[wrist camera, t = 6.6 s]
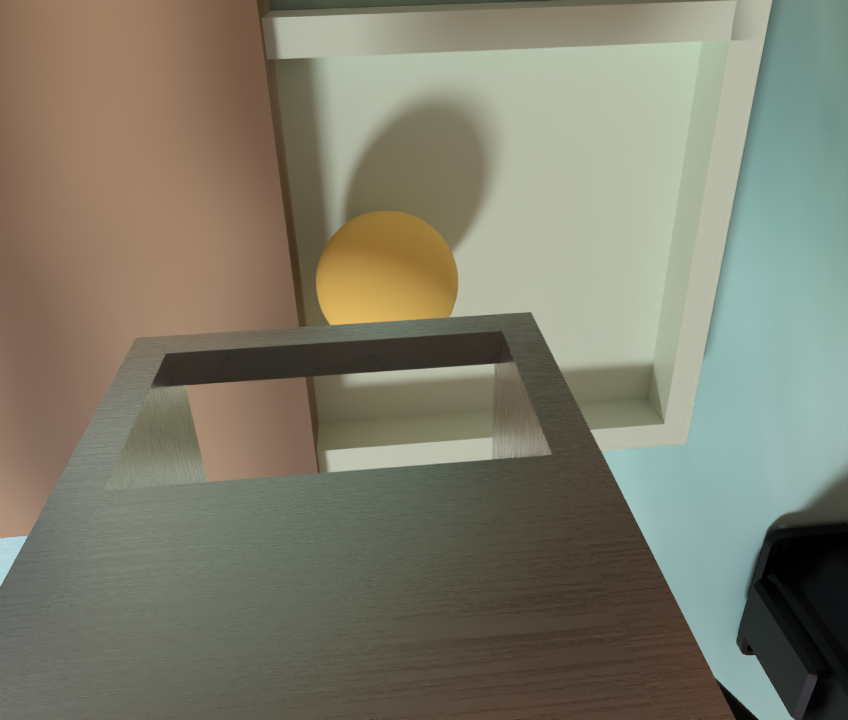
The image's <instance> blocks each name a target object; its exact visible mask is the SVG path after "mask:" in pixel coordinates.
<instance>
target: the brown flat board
mask: <svg viewBox="0 0 848 720" xmlns="http://www.w3.org/2000/svg"><path fill="white" fill-rule="evenodd" d="M270 11H271V9H270V1H269V0H0V538H5V537H17V536H28V535H29V533H30V532H31V530H32V528H33V526H34V524H35V522H36V521H37V519H38V517H39V515H40V513H41V511H42V510H43V508H44V506H45V504H46V502H47V500H48V499H49V497H50V495H51V493H52V491H53V489H54V488H55V486H56V484H57V482H58V480H59V478H60V476H61V475H62V473H63V471H64V469H65V467H66V465H67V464H68V462H69V460H70V458H71V456H72V454H73V453H74V451H75V449H76V447H77V445H78V443H79V442H80V440H81V438H82V436H83V434H84V432H85V431H86V429H87V427H88V425H89V423H90V421H91V420H92V418H93V416H94V414H95V412H96V410H97V409H98V407H99V405H100V403H101V401H102V399H103V398H104V396H105V394H106V392H107V390H108V388H109V387H110V385H111V383H112V381H113V379H114V377H115V376H116V374H117V372H118V370H119V368H120V366H121V365H122V363H123V361H124V359H125V357H126V355H127V353H128V352H129V350H130V348H131V346H132V344H133V342H134V341H135V339H136V338H141V337H157V336H172V335H187V334H202V333H218V332H233V331H248V330H264V329H279V328H294V327H307V324H306V316H305V308H304V300H303V292H302V284H301V275H300V267H299V259H298V251H297V243H296V235H295V227H294V218H293V210H292V202H291V194H290V186H289V178H288V170H287V162H286V153H285V145H284V137H283V129H282V121H281V113H280V105H279V97H278V88H277V80H276V72H275V64H274V59H268V60H267V55H266V47H265V40H264V32H263V24H262V17H264V16H265V15H266V14H267V13H269V12H270ZM185 386H186V391H187V395H188V400H189V404H190V408H191V413H192V417H193V421H194V426H195V430H196V435H197V439H198V443H199V448H200V452H201V456H202V461H203V465H204V470H205V474H206V478H207V482H212V481H225V480H238V479H250V478H263V477H276V476H288V475H301V474H314V473H320V471H319V463H318V455H317V442H318V426H319V422H318V414H317V405H316V397H315V389H314V381H313V376H312V377H298V378H284V379H270V380H255V381H241V382H227V383H212V384H198V385H185Z"/></svg>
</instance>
